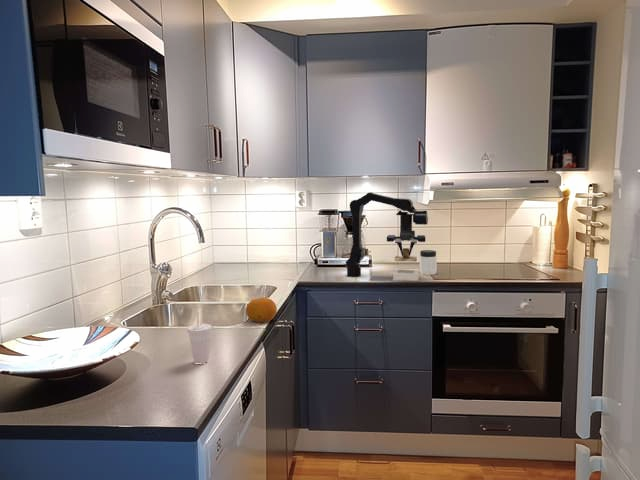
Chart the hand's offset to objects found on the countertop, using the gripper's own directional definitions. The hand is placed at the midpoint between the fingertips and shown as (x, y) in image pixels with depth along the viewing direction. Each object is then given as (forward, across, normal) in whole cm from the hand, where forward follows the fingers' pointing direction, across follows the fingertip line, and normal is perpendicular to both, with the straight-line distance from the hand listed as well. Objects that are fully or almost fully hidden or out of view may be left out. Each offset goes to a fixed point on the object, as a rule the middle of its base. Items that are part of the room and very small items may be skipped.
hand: (405, 255), depth 226 cm
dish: (+12, 0, 0) cm, 12 cm away
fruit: (+12, -48, -80) cm, 94 cm away
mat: (+12, -12, -1) cm, 17 cm away
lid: (+2, 0, 0) cm, 2 cm away
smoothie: (+12, -51, -119) cm, 130 cm away
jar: (+12, +11, +17) cm, 24 cm away
